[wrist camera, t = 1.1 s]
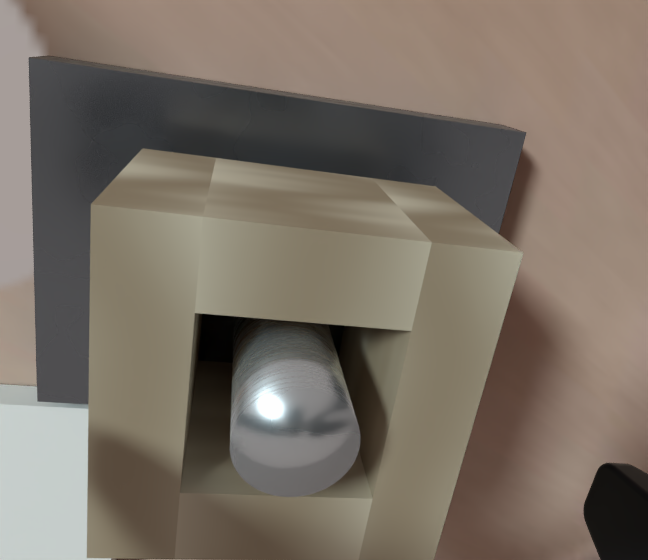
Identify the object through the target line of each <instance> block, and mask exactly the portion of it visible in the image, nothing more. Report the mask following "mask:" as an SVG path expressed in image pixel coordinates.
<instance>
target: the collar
mask: <svg viewBox="0 0 648 560" xmlns="http://www.w3.org/2000/svg"><path fill="white" fill-rule="evenodd" d="M522 256H523V252H522V251H520V250H519V249H518V248H516V247H515V246H514V245H513V244H511V243H510V242H509V241H507V240H506V239H505V238H503V237H502V236H501V235H499V234H498V233H497V232H495V231H494V230H493V229H491V228H490V227H489V226H487V225H486V224H485V223H483V222H482V221H481V220H479V219H478V218H477V217H476V216H474V215H473V214H472V213H470V212H469V211H468V210H466V209H465V208H464V207H462V206H461V205H460V204H458V203H457V202H456V201H454V200H453V199H452V198H450V197H449V196H448V195H446V194H445V193H444V192H442V191H441V190H440V189H438V188H437V187H436V186H429V185H421V184H413V183H405V182H398V181H390V180H382V179H375V178H367V177H359V176H352V175H344V174H336V173H329V172H321V171H313V170H305V169H298V168H290V167H282V166H275V165H267V164H259V163H252V162H244V161H236V160H229V159H221V158H213V157H205V156H198V155H190V154H182V153H175V152H167V151H159V150H152V149H144V148H143V149H142V150H141V151H140V152H139V153H138V154H137V155H136V156H135V157H134V158H133V159H132V160H131V161H130V163H129V164H128V165H127V166H126V167H125V168H124V169H123V170H122V171H121V172H120V173H119V174H118V175H117V177H116V178H115V179H114V180H113V181H112V182H111V183H110V184H109V185H108V186H107V187H106V188H105V189H104V191H103V192H102V193H101V194H100V195H99V196H98V197H97V198H96V199H95V200H94V201H93V202H92V203H91V230H90V316H89V402H88V488H87V558H119V559H206V560H434V557H435V554H436V550H437V547H438V544H439V540H440V537H441V533H442V530H443V526H444V523H445V520H446V516H447V513H448V509H449V506H450V502H451V499H452V496H453V492H454V489H455V485H456V482H457V478H458V475H459V472H460V468H461V465H462V461H463V458H464V455H465V451H466V448H467V444H468V441H469V437H470V434H471V431H472V427H473V424H474V420H475V417H476V413H477V410H478V407H479V403H480V400H481V396H482V393H483V389H484V386H485V383H486V379H487V376H488V372H489V369H490V366H491V362H492V359H493V355H494V352H495V348H496V345H497V342H498V338H499V335H500V331H501V328H502V324H503V321H504V318H505V314H506V311H507V307H508V304H509V300H510V297H511V294H512V290H513V287H514V283H515V280H516V277H517V273H518V270H519V266H520V263H521V259H522ZM202 314H213V315H225V316H237V317H249V318H261V319H273V320H285V321H297V322H309V323H320V324H332V325H344V330H343V336H342V341H341V346H340V352H339V357H338V359H339V362H340V366H341V369H342V372H343V376H344V379H345V382H346V386H347V389H348V392H349V396H350V399H351V402H352V406H353V409H354V412H355V416H356V419H357V422H358V426H359V430H360V448H359V452H358V455H357V457H356V460H355V462H354V463H353V465H352V467H351V468H350V469H349V471H348V472H347V473H346V474H345V475H344V476H343V477H342V478H341V479H340V480H338V481H337V482H336V483H334V484H333V485H331V486H330V487H328V488H326V489H324V490H322V491H319V492H316V493H314V494H310V495H306V496H299V497H280V496H275V495H270V494H267V493H264V492H262V491H259V490H257V489H255V488H254V487H252V486H251V485H249V484H248V483H247V482H246V481H244V480H243V478H242V477H241V476H240V475H239V474H238V472H237V471H236V469H235V467H234V465H233V463H232V459H231V456H230V425H231V394H232V363H228V362H213V361H199V360H198V359H199V347H200V336H201V324H202Z"/></svg>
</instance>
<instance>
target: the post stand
mask: <svg viewBox="0 0 648 560" xmlns="http://www.w3.org/2000/svg"><path fill="white" fill-rule="evenodd" d="M29 84H30V85H29V87H30V125H31V166H32V205H33V245H34V246H33V247H34V287H35V327H36V367H37V402H55V403H73V404H88V402H89V316H90V230H91V203H92V202H93V201H94V200H95V199H96V198H97V197H98V196H99V195H100V194H101V193H102V192H103V191H104V189H105V188H106V187H107V186H108V185H109V184H110V183H111V182H112V181H113V180H114V179H115V178H116V177H117V175H118V174H119V173H120V172H121V171H122V170H123V169H124V168H125V167H126V166H127V165H128V164H129V163H130V161H131V160H132V159H133V158H134V157H135V156H136V155H137V154H138V153H139V152H140V151H141V150H142V149H143V148H144V149H152V150H159V151H167V152H175V153H182V154H190V155H198V156H205V157H213V158H221V159H229V160H236V161H244V162H252V163H259V164H267V165H275V166H282V167H290V168H298V169H305V170H313V171H321V172H329V173H336V174H344V175H352V176H359V177H367V178H375V179H382V180H390V181H398V182H405V183H413V184H421V185H429V186H436V187H437V188H438V189H440V190H441V191H442V192H444V193H445V194H446V195H448V196H449V197H450V198H452V199H453V200H454V201H456V202H457V203H458V204H460V205H461V206H462V207H464V208H465V209H466V210H468V211H469V212H470V213H472V214H473V215H474V216H476V217H477V218H478V219H479V220H481V221H482V222H483V223H485V224H486V225H487V226H489V227H490V228H491V229H493V230H494V231H495V232H497V233H498V234H499V231H500V227H501V224H502V220H503V216H504V213H505V209H506V205H507V202H508V198H509V194H510V191H511V187H512V183H513V180H514V176H515V172H516V169H517V165H518V161H519V158H520V154H521V150H522V147H523V143H524V139H525V136H526V132H523V131H520V130H517V129H514V128H510V127H507V126H504V125H500V124H493V123H487V122H480V121H473V120H467V119H460V118H454V117H447V116H441V115H434V114H428V113H421V112H414V111H408V110H401V109H395V108H388V107H382V106H375V105H369V104H362V103H355V102H349V101H342V100H336V99H329V98H323V97H316V96H310V95H303V94H297V93H290V92H283V91H277V90H270V89H264V88H257V87H251V86H244V85H238V84H231V83H224V82H218V81H211V80H205V79H198V78H192V77H185V76H179V75H172V74H165V73H159V72H152V71H146V70H139V69H133V68H126V67H120V66H113V65H106V64H100V63H93V62H87V61H80V60H74V59H67V58H61V57H54V56H40V57H29ZM343 330H344V325H332V324H320V323H309V322H297V321H285V320H273V319H261V318H249V317H237V316H225V315H213V314H202V324H201V336H200V347H199V359H198V360H199V361H213V362H228V363H232V394H231V425H230V456H231V459H232V463H233V465H234V467H235V469H236V471H237V472H238V474H239V475H240V476H241V477H242V478H243V480H244V481H246V482H247V483H248V484H249V485H251V486H252V487H254V488H255V489H257V490H259V491H262V492H264V493H267V494H270V495H275V496H280V497H299V496H306V495H310V494H314V493H316V492H319V491H322V490H324V489H326V488H328V487H330V486H331V485H333V484H334V483H336V482H337V481H338V480H340V479H341V478H342V477H343V476H344V475H345V474H346V473H347V472H348V471H349V469H350V468H351V467H352V465H353V463H354V462H355V460H356V457H357V455H358V452H359V448H360V430H359V426H358V422H357V419H356V416H355V412H354V409H353V406H352V402H351V399H350V396H349V392H348V389H347V386H346V382H345V379H344V376H343V372H342V369H341V366H340V362H339V359H338V357H339V352H340V346H341V341H342V336H343Z"/></svg>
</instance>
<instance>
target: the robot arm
mask: <svg viewBox="0 0 648 560" xmlns="http://www.w3.org/2000/svg"><path fill="white" fill-rule="evenodd" d="M584 518H585V522H586V525H587V527H588V530H589V532H590V535H591V537H592V540H593V542H594V544H595V547H596V549H597V552H598V554H599V557H600V559H601V560H648V474H647V473H645V472H643V471H641V470H640V469H638V468H636V467H634V466H632V465H629V464H621V463H605V464H603V465H601V466H600V467H599V469H598V471H597V473H596V475H595V478H594V480H593V483H592V485H591V488H590V490H589V493H588V495H587V498H586V500H585V503H584Z"/></svg>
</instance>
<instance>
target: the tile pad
mask: <svg viewBox="0 0 648 560" xmlns="http://www.w3.org/2000/svg"><path fill="white" fill-rule="evenodd" d="M87 488H88V404H73V403H55V402H37V386H20V385H3V384H0V560H116V558H87Z"/></svg>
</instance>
